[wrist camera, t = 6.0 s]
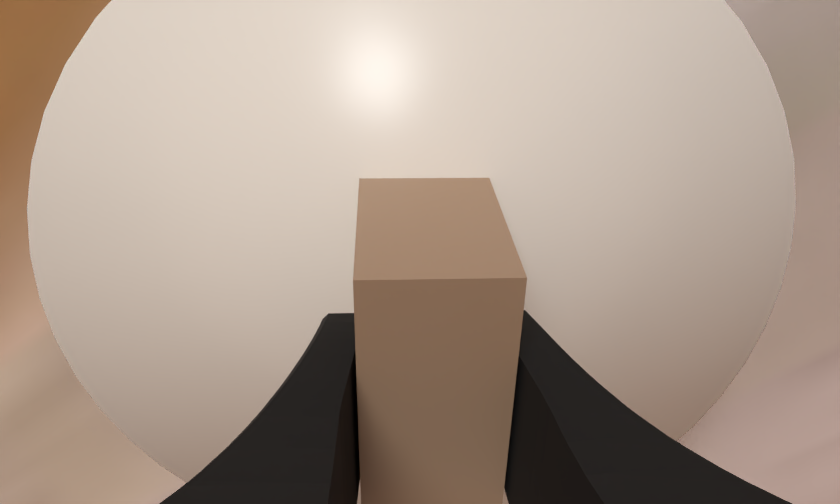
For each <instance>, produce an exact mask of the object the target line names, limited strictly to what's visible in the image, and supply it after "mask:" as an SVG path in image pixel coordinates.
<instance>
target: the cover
mask: <svg viewBox="0 0 840 504" xmlns="http://www.w3.org/2000/svg"><path fill="white" fill-rule="evenodd" d="M795 208H796V191H795V169H794V155H793V150H792V146H791V141H790V136H789V131H788V126H787V121H786V116H785V111H784V109H783V106H782V103H781V101H780V98H779V95H778V93H777V90H776V87H775V85H774V82H773V80H772V77H771V74H770V72H769V69H768V66H767V64H766V63H765V61H764V59H763V58H762V56H761V54H760V52H759V51H758V49H757V47H756V45H755V44H754V42H753V40H752V38H751V37H750V35H749V33H748V31H747V30H746V28H745V26H744V25H743V23H742V21H741V20H740V19H739V18H738V16H737V15H736V14H735V13H734V11H733V10H732V9H731V8H730V7H729V5H728V4H727V3H726V2H725V0H112V1H111V2H110V3H109V4H108V5H107V6H106V7H105V8H104V9H103V10H102V11H101V12H100V14H99V15H98V16H97V17H96V18H95V20H94V21H93V23H92V24H91V26H90V27H89V29H88V31H87V32H86V34H85V35H84V37H83V38H82V40H81V41H80V43H79V44H78V46H77V47H76V49H75V50H74V52H73V53H72V55H71V56H70V58H69V59H68V61H67V62H66V64H65V66H64V69H63V71H62V73H61V75H60V78H59V80H58V82H57V84H56V87H55V89H54V91H53V93H52V96H51V98H50V100H49V102H48V105H47V107H46V109H45V111H44V115H43V119H42V122H41V126H40V130H39V134H38V138H37V142H36V145H35V149H34V153H33V157H32V161H31V171H30V182H29V193H28V204H27V216H28V231H29V247H30V257H31V262H32V266H33V271H34V275H35V279H36V284H37V288H38V293H39V297H40V301H41V303H42V306H43V308H44V311H45V314H46V316H47V319H48V321H49V324H50V327H51V329H52V332H53V334H54V337H55V340H56V341H57V343H58V345H59V347H60V349H61V350H62V352H63V354H64V356H65V358H66V359H67V361H68V363H69V365H70V367H71V368H72V370H73V372H74V374H75V376H76V377H77V379H78V380H79V381H80V383H81V384H82V385H83V387H84V388H85V389H86V391H87V392H88V393H89V395H90V396H91V397H92V399H93V400H94V401H95V403H96V404H97V405H98V407H99V408H100V410H101V411H102V412H103V413H104V414H105V415H106V416H107V417H108V418H109V419H110V420H111V421H112V422H113V423H114V424H115V425H116V426H117V427H118V428H119V429H120V431H121V432H122V433H123V434H124V435H125V436H126V437H127V438H128V439H129V440H130V441H132V442H133V443H134V444H135V445H136V446H138V447H139V448H140V449H141V450H142V451H144V452H145V453H146V454H147V455H148V456H150V457H151V458H152V459H153V460H155V461H156V462H157V463H158V464H159V465H161V466H162V467H164V468H165V469H167V470H168V471H170V472H171V473H173V474H174V475H176V476H177V477H179V478H181V479H182V480H184V481H185V482H189V481H190V480H191V479H192V478H193V477H194V476H196V475H197V474H198V473H199V472H200V471H201V470H203V469H204V468H205V467H206V466H207V465H208V464H209V463H210V462H211V461H212V460H213V459H215V458H216V457H217V456H218V455H219V454H220V453H221V452H222V451H223V450H224V449H225V448H226V447H227V446H229V445H230V443H231V442H232V441H233V440H234V439H235V438H236V437H237V436H238V435H239V434H240V433H241V432H242V431H243V430H244V429H245V428H246V427H247V426H248V425H249V424H250V423H251V421H252V420H253V419H254V418H255V417H256V416H257V415H258V414H259V412H260V411H261V410H262V409H263V408H264V406H265V405H266V404H267V403H268V401H269V400H270V399H271V398H272V396H273V395H274V394H275V393H276V391H277V390H278V389H279V388H280V386H281V385H282V384H283V382H284V381H285V380H286V378H287V377H288V375H289V374H290V372H291V371H292V370H293V368H294V367H295V365H296V364H297V362H298V361H299V359H300V358H301V356H302V355H303V353H304V352H305V350H306V348H307V347H308V345H309V344H310V342H311V340H312V339H313V337H314V335H315V333H316V331H317V329H318V328H319V326H320V323H321V321H322V319H323V318H324V317H325V316H326V315H327V314H328V313H354V324H355V351H356V379H357V406H358V433H359V461H360V483H359V491H358V499H357V504H509V503H508V500H507V496H506V492H505V489H504V485H505V476H506V467H507V458H508V449H509V439H510V430H511V421H512V412H513V403H514V394H515V385H516V375H517V366H518V357H519V348H520V339H521V330H522V321H523V311H524V310H526V311H527V313H528V314H529V315H530V316H531V317H532V318H533V319H534V320H535V321H536V322H537V323H538V324H539V325H540V326H541V327H542V328H543V329H544V330H545V331H546V332H547V333H548V334H549V335H550V336H551V337H552V338H553V340H554V341H555V342H556V343H557V344H558V345H559V346H560V347H561V348H562V349H563V350H564V351H565V352H566V353H567V354H568V355H569V356H570V357H571V358H572V359H573V360H574V361H575V362H576V363H578V364H579V365H580V366H581V367H582V368H583V369H584V370H585V371H586V372H587V373H588V374H589V375H590V376H591V377H593V378H594V379H595V380H596V381H597V382H598V383H599V384H600V385H602V386H603V387H604V388H605V389H606V390H608V391H609V392H610V393H611V394H612V395H614V396H615V397H616V398H617V399H618V400H620V401H621V402H622V403H623V404H625V405H626V406H627V407H628V408H630V409H631V410H632V411H634V412H635V413H636V414H638V415H639V416H640V417H642V418H643V419H645V420H646V421H647V422H649V423H650V424H652V425H653V426H655V427H656V428H657V429H659V430H660V431H662V432H663V433H665V434H666V435H667V436H669V437H670V438H672V439H674V440H675V441H677V440H678V439H679V438H681V437H682V436H683V435H684V434H685V433H686V432H687V431H688V430H690V429H691V428H692V427H693V426H694V425H695V424H696V423H697V422H698V421H699V420H700V419H701V418H702V417H703V415H704V414H705V413H706V412H707V411H708V410H709V409H710V408H711V407H712V406H713V404H714V403H715V402H716V401H717V400H718V399H719V398H720V397H721V396H722V394H723V393H724V392H725V390H726V389H727V388H728V386H729V385H730V383H731V382H732V381H733V379H734V378H735V376H736V375H737V374H738V372H739V371H740V369H741V368H742V367H743V365H744V364H745V363H746V361H747V359H748V357H749V356H750V354H751V352H752V350H753V348H754V346H755V345H756V343H757V341H758V339H759V337H760V336H761V334H762V332H763V330H764V328H765V327H766V324H767V322H768V319H769V317H770V314H771V312H772V309H773V307H774V304H775V302H776V299H777V297H778V294H779V292H780V289H781V286H782V282H783V278H784V274H785V270H786V266H787V262H788V258H789V254H790V250H791V246H792V237H793V227H794V217H795Z"/></svg>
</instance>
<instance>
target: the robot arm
mask: <svg viewBox="0 0 840 504" xmlns="http://www.w3.org/2000/svg"><path fill="white" fill-rule="evenodd" d="M359 483H360V461H359V433H358V406H357V379H356V351H355V324H354V313H328V314H327V315H326V316H325V317H324V318H323V319H322V321H321V323H320V326H319V328H318V329H317V331H316V333H315V335H314V337H313V339H312V340H311V342H310V344H309V345H308V347H307V348H306V350H305V352H304V353H303V355H302V356H301V358H300V359H299V361H298V362H297V364H296V365H295V367H294V368H293V370H292V371H291V372H290V374H289V375H288V377H287V378H286V380H285V381H284V382H283V384H282V385H281V386H280V388H279V389H278V390H277V391H276V393H275V394H274V395H273V396H272V398H271V399H270V400H269V401H268V403H267V404H266V405H265V406H264V408H263V409H262V410H261V411H260V412H259V414H258V415H257V416H256V417H255V418H254V419H253V420H252V421H251V423H250V424H249V425H248V426H247V427H246V428H245V429H244V430H243V431H242V432H241V433H240V434H239V435H238V436H237V437H236V438H235V439H234V440H233V441H232V442H231V443H230V445H229V446H227V447H226V448H225V449H224V450H223V451H222V452H221V453H220V454H219V455H218V456H217V457H216V458H215V459H213V460H212V461H211V462H210V463H209V464H208V465H207V466H206V467H205V468H204V469H203V470H201V471H200V472H199V473H198V474H197V475H196V476H194V477H193V478H192V479H191V480H190V481H189V482H187V483H186V484H185V485H184V486H182V487H181V488H180V489H179V490H177V491H176V492H175V493H173V494H172V495H171V496H169V497H168V498H166V499H165V500H164V501H162V502H161V503H160V504H357V499H358V491H359ZM504 489H505V492H506V496H507V500H508V503H509V504H792V503H790V502H787V501H785V500H783V499H781V498H779V497H777V496H775V495H773V494H771V493H769V492H767V491H765V490H763V489H760V488H758V487H756V486H754V485H752V484H750V483H748V482H746V481H744V480H742V479H741V478H739V477H737V476H735V475H733V474H731V473H729V472H727V471H725V470H724V469H722V468H720V467H718V466H717V465H715V464H713V463H711V462H710V461H708V460H706V459H705V458H703V457H701V456H700V455H698V454H696V453H694V452H693V451H691V450H689V449H688V448H686V447H684V446H683V445H681V444H680V443H678V442H677V441H675V440H674V439H672V438H670V437H669V436H667V435H666V434H665V433H663V432H662V431H660V430H659V429H657V428H656V427H655V426H653V425H652V424H650V423H649V422H647V421H646V420H645V419H643V418H642V417H640V416H639V415H638V414H636V413H635V412H634V411H632V410H631V409H630V408H628V407H627V406H626V405H625V404H623V403H622V402H621V401H620V400H618V399H617V398H616V397H615V396H614V395H612V394H611V393H610V392H609V391H608V390H606V389H605V388H604V387H603V386H602V385H600V384H599V383H598V382H597V381H596V380H595V379H594V378H593V377H591V376H590V375H589V374H588V373H587V372H586V371H585V370H584V369H583V368H582V367H581V366H580V365H579V364H578V363H576V362H575V361H574V360H573V359H572V358H571V357H570V356H569V355H568V354H567V353H566V352H565V351H564V350H563V349H562V348H561V347H560V346H559V345H558V344H557V343H556V342H555V341H554V340H553V338H552V337H551V336H550V335H549V334H548V333H547V332H546V331H545V330H544V329H543V328H542V327H541V326H540V325H539V324H538V323H537V322H536V321H535V320H534V319H533V318H532V317H531V316H530V315H529V314H528V313H527V311H526V310H524V311H523V321H522V330H521V339H520V348H519V357H518V366H517V375H516V385H515V394H514V403H513V412H512V421H511V430H510V439H509V449H508V458H507V467H506V476H505V485H504Z"/></svg>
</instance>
